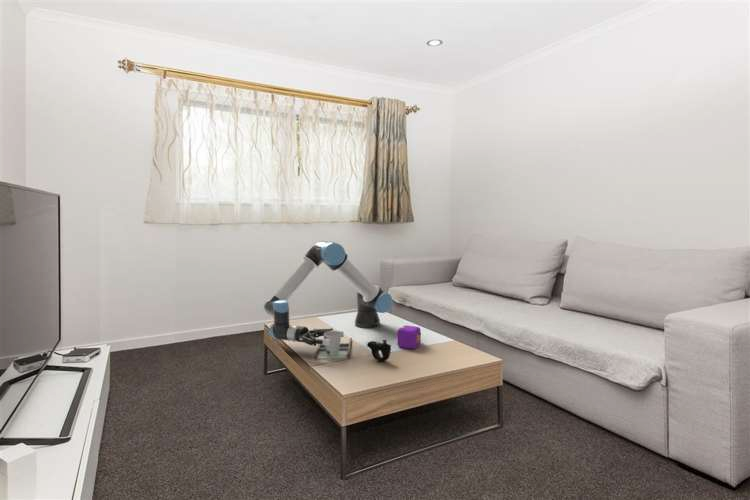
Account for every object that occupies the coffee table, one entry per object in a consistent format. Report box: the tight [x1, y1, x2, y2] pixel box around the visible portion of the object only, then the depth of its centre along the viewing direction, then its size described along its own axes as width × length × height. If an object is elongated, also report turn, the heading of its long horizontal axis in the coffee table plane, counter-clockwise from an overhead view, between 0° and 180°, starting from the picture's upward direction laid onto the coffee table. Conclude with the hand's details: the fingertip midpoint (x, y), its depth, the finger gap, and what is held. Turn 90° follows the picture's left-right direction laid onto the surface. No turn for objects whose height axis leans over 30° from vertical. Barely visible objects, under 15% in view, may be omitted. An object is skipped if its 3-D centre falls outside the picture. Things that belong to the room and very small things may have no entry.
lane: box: [313, 337, 353, 360], centre depth 206 cm, size 16×27×2 cm, turn 0°
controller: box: [366, 339, 392, 363], centre depth 189 cm, size 4×12×10 cm, turn 49°
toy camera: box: [396, 325, 422, 350], centre depth 210 cm, size 11×14×10 cm
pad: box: [316, 351, 348, 360], centre depth 198 cm, size 14×10×1 cm
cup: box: [323, 330, 342, 356], centre depth 198 cm, size 8×8×10 cm
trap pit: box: [320, 342, 349, 351], centre depth 207 cm, size 14×8×2 cm, turn 90°
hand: (336, 338), depth 196 cm, fingers open, 13 cm apart
